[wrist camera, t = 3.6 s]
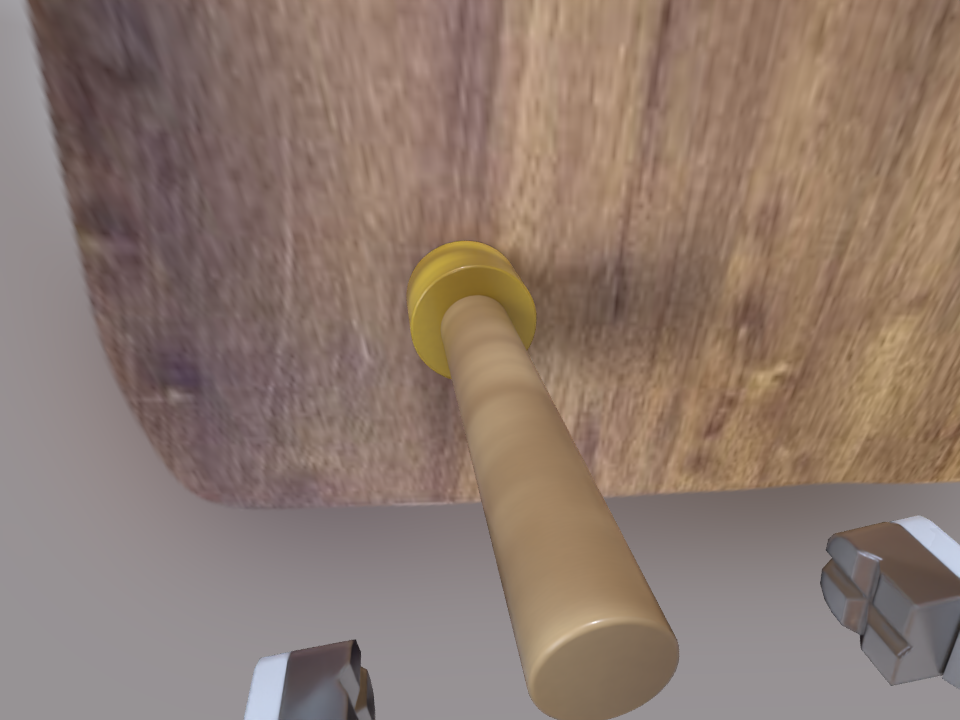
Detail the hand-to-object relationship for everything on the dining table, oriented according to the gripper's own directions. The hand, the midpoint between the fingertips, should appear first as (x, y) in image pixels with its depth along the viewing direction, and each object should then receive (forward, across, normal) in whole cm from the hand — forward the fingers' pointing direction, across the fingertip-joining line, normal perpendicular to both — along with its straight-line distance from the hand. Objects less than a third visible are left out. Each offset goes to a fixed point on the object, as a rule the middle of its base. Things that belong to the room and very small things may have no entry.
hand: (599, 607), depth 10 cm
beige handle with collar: (+15, 0, 0) cm, 15 cm away
